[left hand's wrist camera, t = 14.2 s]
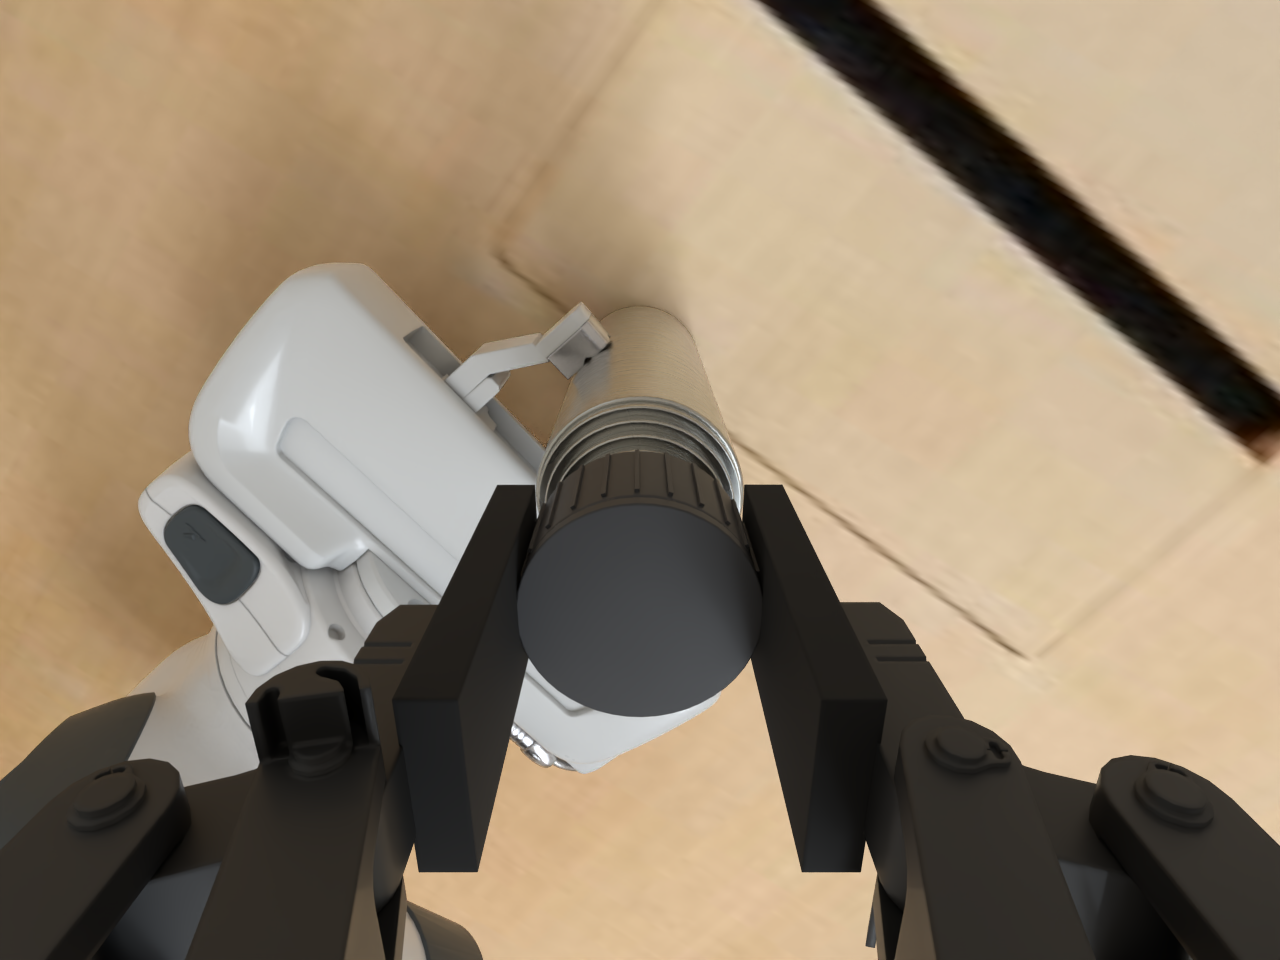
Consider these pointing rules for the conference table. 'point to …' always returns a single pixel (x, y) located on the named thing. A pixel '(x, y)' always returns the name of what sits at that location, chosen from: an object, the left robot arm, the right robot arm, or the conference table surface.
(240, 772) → the right robot arm
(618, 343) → the bottle
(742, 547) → the cap
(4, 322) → the conference table surface
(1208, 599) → the conference table surface
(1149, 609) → the conference table surface
